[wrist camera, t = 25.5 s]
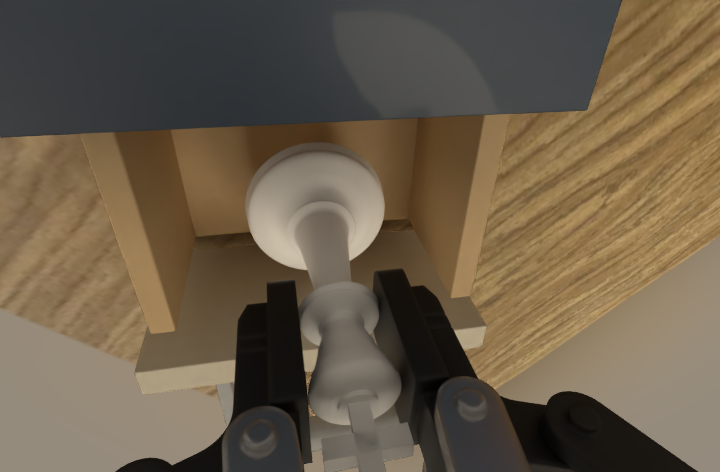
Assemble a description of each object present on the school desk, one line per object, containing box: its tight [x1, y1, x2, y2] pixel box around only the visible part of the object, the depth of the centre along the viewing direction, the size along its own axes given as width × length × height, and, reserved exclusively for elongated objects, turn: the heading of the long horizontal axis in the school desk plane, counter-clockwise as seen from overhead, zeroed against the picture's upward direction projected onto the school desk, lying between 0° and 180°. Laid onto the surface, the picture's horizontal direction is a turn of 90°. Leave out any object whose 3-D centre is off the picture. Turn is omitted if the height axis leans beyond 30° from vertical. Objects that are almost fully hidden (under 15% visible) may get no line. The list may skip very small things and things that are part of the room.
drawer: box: [79, 114, 510, 452], centre depth 17 cm, size 22×13×7 cm, turn 179°
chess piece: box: [245, 142, 414, 472], centre depth 12 cm, size 5×5×10 cm
